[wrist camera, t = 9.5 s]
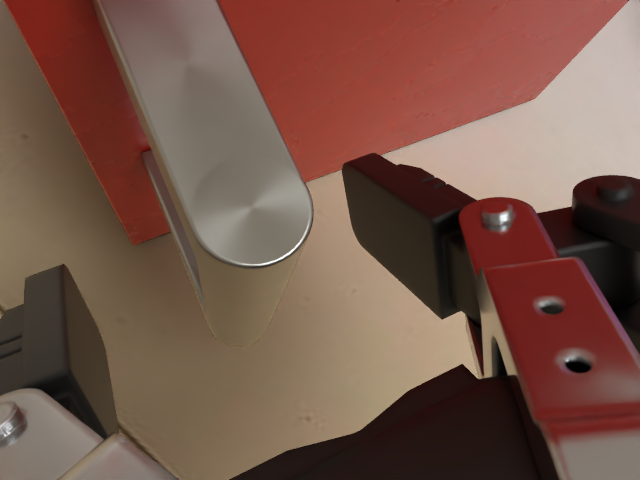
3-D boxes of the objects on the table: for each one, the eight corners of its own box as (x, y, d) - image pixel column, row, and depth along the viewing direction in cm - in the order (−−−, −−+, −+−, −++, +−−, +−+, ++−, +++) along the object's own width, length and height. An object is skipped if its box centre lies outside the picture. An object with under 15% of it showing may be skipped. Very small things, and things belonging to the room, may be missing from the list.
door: (599, 206, 23) (1314, -207, 8) (188, 388, 19) (17, 240, 3) (526, 83, 25) (1020, -474, 9) (125, 226, 20) (-205, -411, 5)
